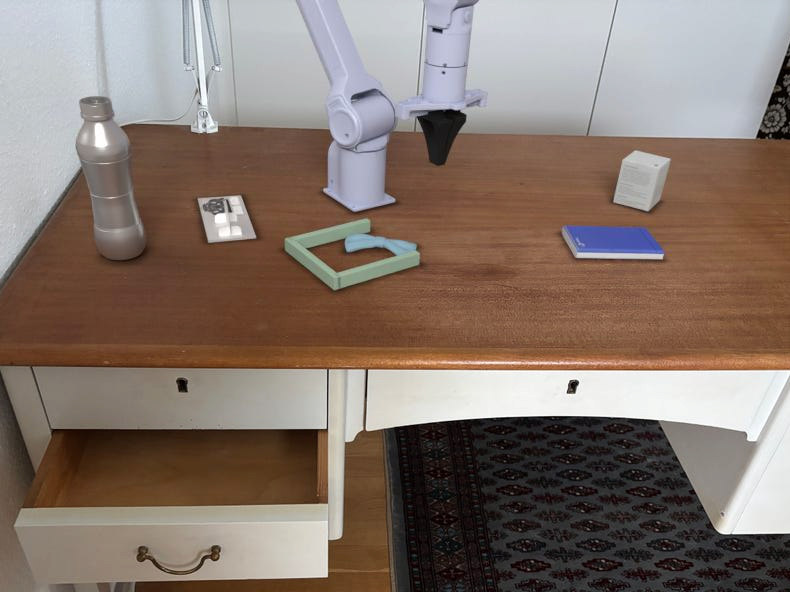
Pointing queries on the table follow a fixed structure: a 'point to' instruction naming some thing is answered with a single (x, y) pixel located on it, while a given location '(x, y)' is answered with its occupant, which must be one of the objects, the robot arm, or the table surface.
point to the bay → (352, 276)
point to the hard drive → (612, 242)
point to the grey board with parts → (225, 219)
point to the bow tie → (378, 243)
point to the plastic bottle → (109, 180)
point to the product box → (641, 180)
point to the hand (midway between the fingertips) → (437, 163)
